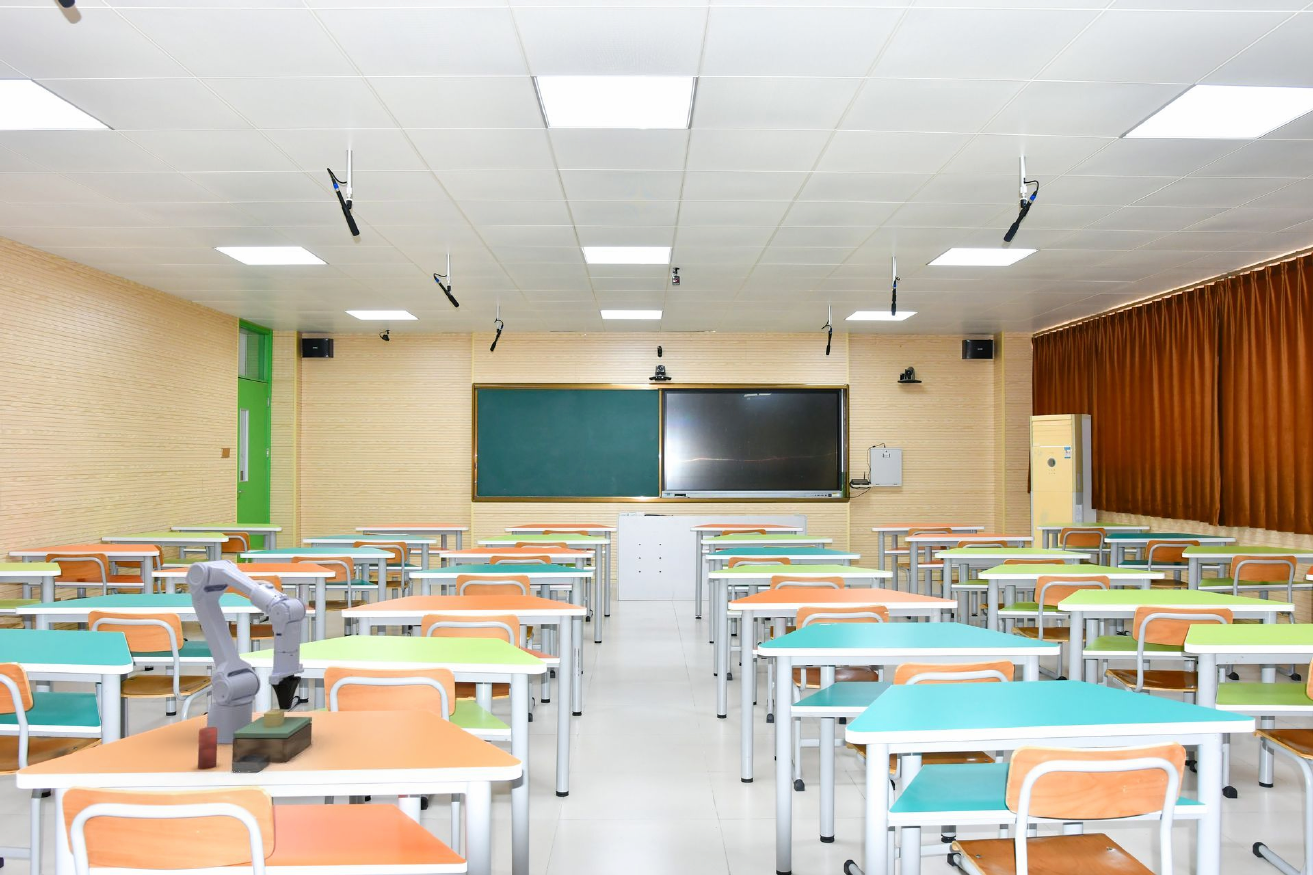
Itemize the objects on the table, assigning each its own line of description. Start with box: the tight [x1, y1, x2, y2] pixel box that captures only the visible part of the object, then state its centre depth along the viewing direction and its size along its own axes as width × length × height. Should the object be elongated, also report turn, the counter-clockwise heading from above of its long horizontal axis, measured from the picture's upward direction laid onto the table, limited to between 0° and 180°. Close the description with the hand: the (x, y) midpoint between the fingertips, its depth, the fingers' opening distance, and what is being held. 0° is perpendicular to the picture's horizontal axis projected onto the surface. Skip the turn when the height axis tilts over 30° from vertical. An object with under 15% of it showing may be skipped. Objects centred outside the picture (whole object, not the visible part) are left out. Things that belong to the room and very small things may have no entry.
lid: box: [233, 708, 313, 738], centre depth 202 cm, size 12×14×4 cm
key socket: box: [231, 755, 271, 773], centre depth 191 cm, size 6×6×2 cm
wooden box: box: [231, 722, 313, 763], centre depth 202 cm, size 12×14×5 cm
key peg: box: [197, 726, 218, 770], centre depth 192 cm, size 4×4×8 cm
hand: (285, 708), depth 208 cm, fingers closed
